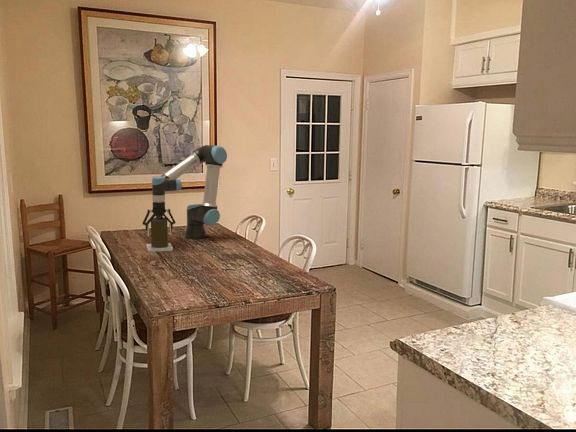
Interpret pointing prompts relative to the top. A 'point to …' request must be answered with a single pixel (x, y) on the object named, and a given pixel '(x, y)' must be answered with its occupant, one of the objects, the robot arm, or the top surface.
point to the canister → (159, 232)
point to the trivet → (152, 249)
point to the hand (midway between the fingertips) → (159, 235)
